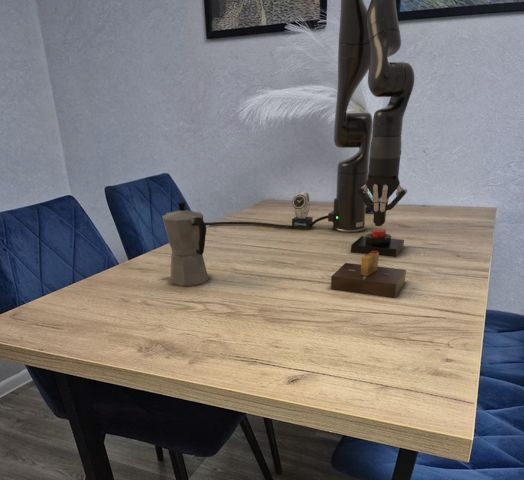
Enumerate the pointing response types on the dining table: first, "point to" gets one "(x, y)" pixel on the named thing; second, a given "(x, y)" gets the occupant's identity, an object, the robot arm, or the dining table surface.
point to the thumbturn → (369, 263)
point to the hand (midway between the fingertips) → (379, 225)
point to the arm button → (378, 233)
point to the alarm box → (377, 245)
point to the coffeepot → (186, 246)
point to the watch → (301, 211)
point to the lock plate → (368, 280)
